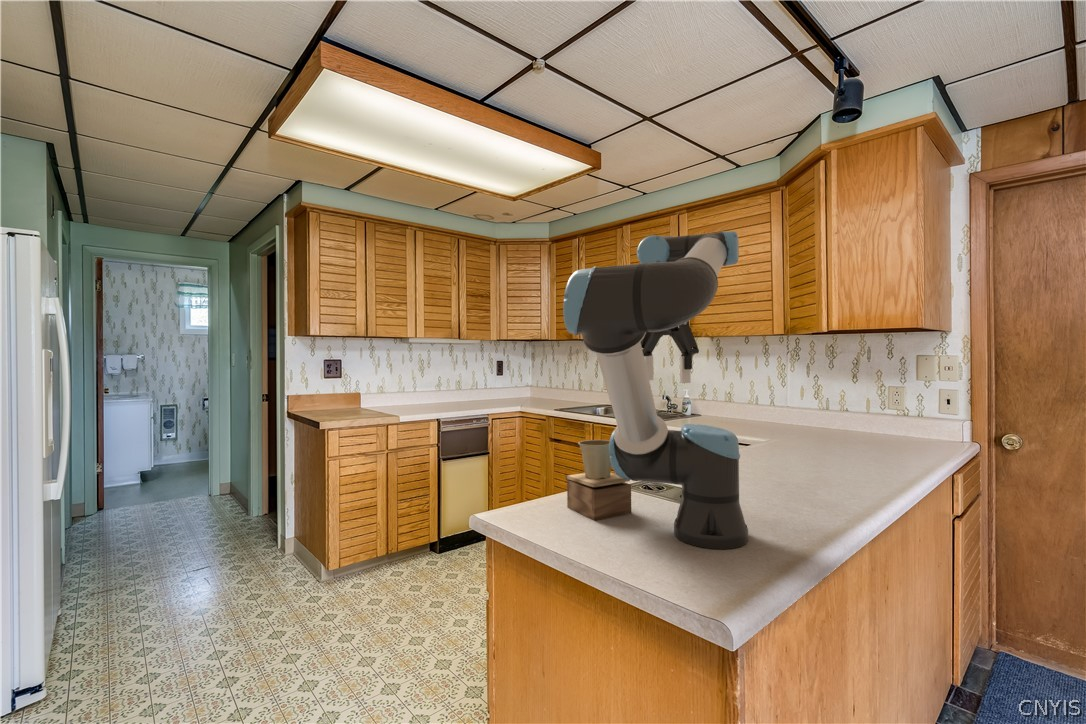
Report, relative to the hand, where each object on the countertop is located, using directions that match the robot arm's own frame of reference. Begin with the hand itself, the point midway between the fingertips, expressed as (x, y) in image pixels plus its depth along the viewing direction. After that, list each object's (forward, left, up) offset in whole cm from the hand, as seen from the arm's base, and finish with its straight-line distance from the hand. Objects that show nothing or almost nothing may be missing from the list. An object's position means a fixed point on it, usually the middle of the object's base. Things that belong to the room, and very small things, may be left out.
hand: (666, 381), depth 132 cm
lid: (+6, +18, -25) cm, 31 cm away
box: (+5, +18, -32) cm, 37 cm away
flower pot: (+5, +18, -24) cm, 30 cm away
